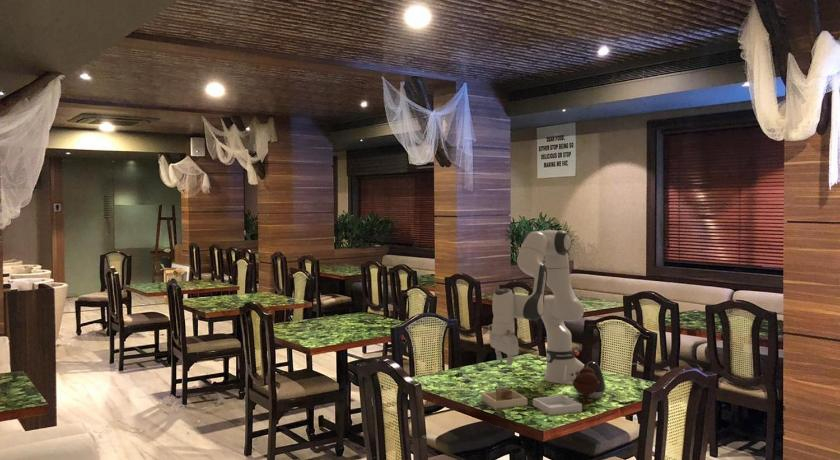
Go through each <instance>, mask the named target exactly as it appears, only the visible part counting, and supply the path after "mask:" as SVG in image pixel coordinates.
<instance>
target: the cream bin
mask: <svg viewBox="0 0 840 460" xmlns="http://www.w3.org/2000/svg"><path fill="white" fill-rule="evenodd" d="M510 390H511V391H512V399H511V400H501V401H496V390H495V391H487V392H486V391H485V392H481V403H484V405H486V406H488V407H489V408H491V409H493V410H494V411H503V410H504V411H505V408H513V407H514V408H515V407H522V406H528V397H526V396H524V395H522V394H520V393H519V392H517V391H515V390H514V389H510Z"/></svg>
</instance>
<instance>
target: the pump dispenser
mask: <svg viewBox="0 0 840 460" xmlns="http://www.w3.org/2000/svg"><path fill="white" fill-rule="evenodd" d="M584 367H590V368H592V369H593V370H594V373H595V376H596V377H597V380H598V381H599V382H600V384H599V387H598V389H597V390H596V391H595V392H594V393H592V394H589V396H588V399H592V400H597V399H600V398H601V397H603V395H604V393H605V391H606V384H605V379H604V374H603V371H602V369H601V367H600V365H599V364H598V363H597V362H596V361H589V362H588V363H586V365H585V364H584Z"/></svg>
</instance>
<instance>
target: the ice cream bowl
mask: <svg viewBox="0 0 840 460" xmlns="http://www.w3.org/2000/svg"><path fill="white" fill-rule="evenodd" d="M599 384H600V382H599V381H598V380H597V377H596V376H595V373H594V370H593V369H592V368H590V367H584V368H582V369H581V370H580V374H578V375H577V376H576V378H575V379H574V380H573V384H572V385H573V388H574V389H575V391H577V392H578V393H579V394H582V396H583V400H581V401H580V404H582V405H591V404H593V402H592V401H591V400H589V397H588V396H589V394H592V393H594V392H595V391H596V390H597V389H598V387H599Z"/></svg>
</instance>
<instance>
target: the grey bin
mask: <svg viewBox="0 0 840 460" xmlns="http://www.w3.org/2000/svg"><path fill="white" fill-rule="evenodd" d="M532 406H533V407H536V408H537V409H539V410H540V411H542V412H544V413H546V414H547V415H549V416H554V415H561V414H563V415H564V414H570V413H571V414H572V413H579V412H583V403H581V402H579V401H576V400H574V399H573V398H570V397H568V396H566V395H555V396H544V397H543V396H542V397H535V398H534V397H533V398H532Z"/></svg>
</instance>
